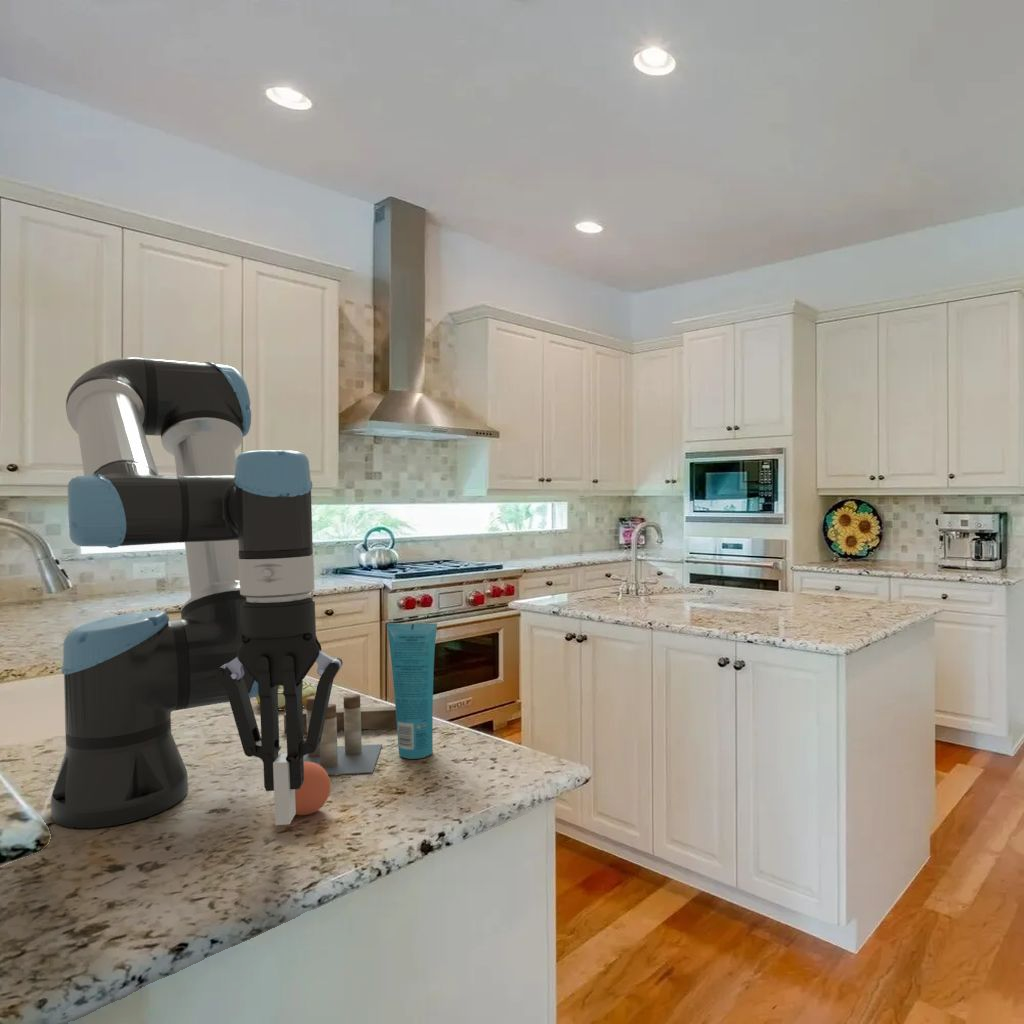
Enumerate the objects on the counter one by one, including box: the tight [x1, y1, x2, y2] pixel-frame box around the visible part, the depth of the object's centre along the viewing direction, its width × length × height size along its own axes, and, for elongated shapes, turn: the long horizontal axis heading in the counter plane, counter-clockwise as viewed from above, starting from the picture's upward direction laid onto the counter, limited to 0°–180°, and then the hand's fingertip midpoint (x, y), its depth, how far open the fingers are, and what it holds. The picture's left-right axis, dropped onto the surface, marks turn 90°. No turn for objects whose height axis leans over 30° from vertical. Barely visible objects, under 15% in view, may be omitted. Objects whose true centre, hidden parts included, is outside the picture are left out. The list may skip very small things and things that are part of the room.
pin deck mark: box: [303, 743, 383, 776], centre depth 103 cm, size 13×11×1 cm
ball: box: [295, 762, 332, 816], centre depth 86 cm, size 6×6×6 cm
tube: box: [386, 622, 438, 760], centre depth 105 cm, size 7×5×19 cm, turn 89°
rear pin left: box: [342, 693, 363, 755], centre depth 105 cm, size 2×2×8 cm
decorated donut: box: [254, 681, 317, 709], centre depth 133 cm, size 10×11×4 cm
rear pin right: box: [305, 696, 320, 757], centre depth 105 cm, size 2×2×8 cm
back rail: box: [283, 706, 397, 734], centre depth 117 cm, size 20×2×3 cm, turn 94°
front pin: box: [320, 703, 338, 768], centre depth 101 cm, size 2×2×8 cm
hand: (285, 818), depth 76 cm, fingers closed
